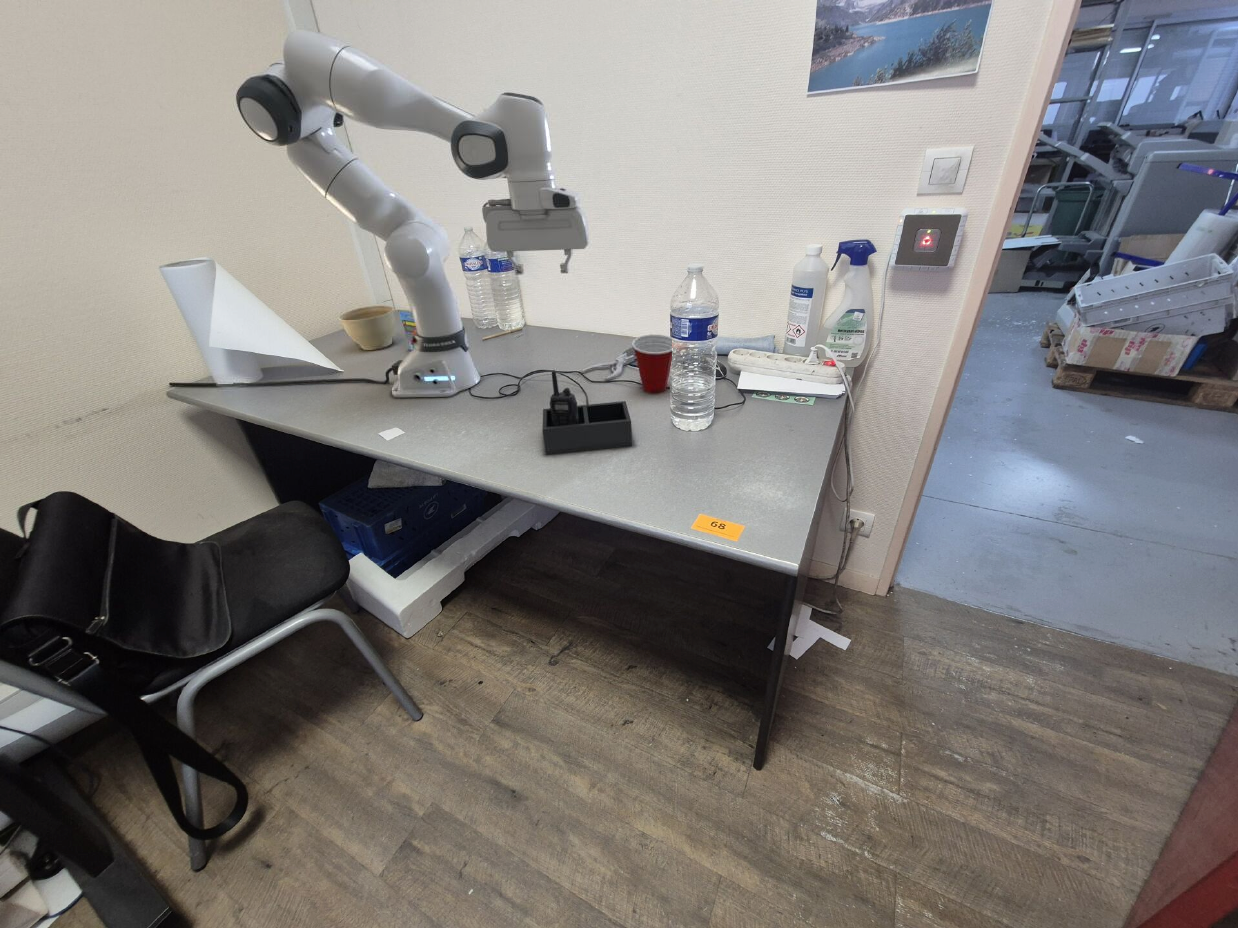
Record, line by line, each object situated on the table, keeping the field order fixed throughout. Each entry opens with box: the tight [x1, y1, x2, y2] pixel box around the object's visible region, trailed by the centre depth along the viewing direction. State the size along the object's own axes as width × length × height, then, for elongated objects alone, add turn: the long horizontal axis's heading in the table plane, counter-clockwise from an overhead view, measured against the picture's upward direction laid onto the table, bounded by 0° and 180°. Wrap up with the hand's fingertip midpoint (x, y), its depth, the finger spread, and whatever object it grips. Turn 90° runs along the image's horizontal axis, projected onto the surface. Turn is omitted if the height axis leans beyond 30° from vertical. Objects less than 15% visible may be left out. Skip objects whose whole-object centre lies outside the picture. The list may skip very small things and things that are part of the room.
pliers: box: [580, 352, 636, 382], centre depth 137 cm, size 10×2×15 cm
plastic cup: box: [631, 333, 673, 394], centre depth 121 cm, size 11×11×12 cm
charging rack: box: [541, 400, 633, 456], centre depth 103 cm, size 9×17×6 cm, turn 96°
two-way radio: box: [549, 369, 579, 427], centre depth 100 cm, size 6×4×15 cm
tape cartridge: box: [398, 310, 417, 351], centre depth 154 cm, size 9×4×12 cm, turn 58°
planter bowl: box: [338, 305, 396, 351], centre depth 161 cm, size 16×16×11 cm
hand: (542, 273), depth 103 cm, fingers open, 8 cm apart
